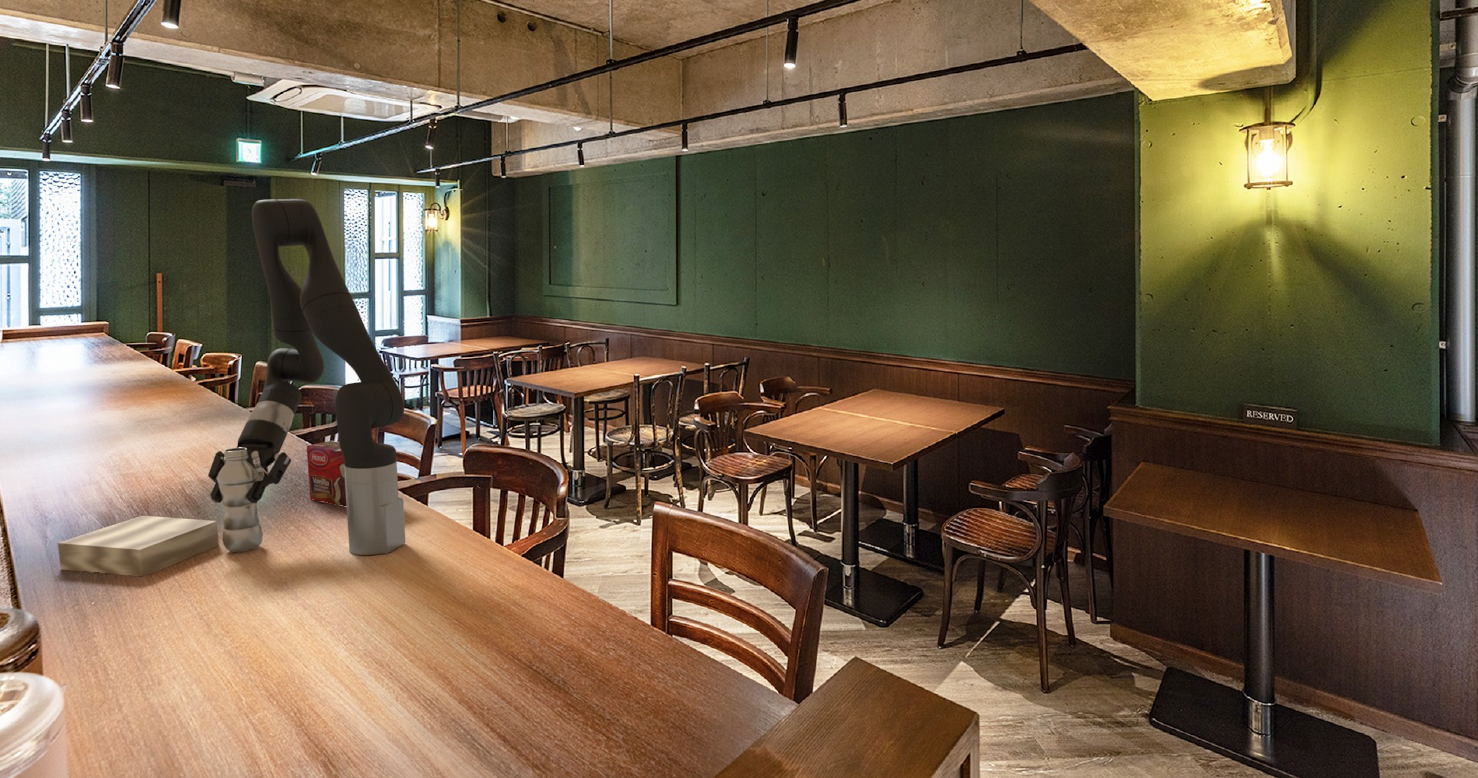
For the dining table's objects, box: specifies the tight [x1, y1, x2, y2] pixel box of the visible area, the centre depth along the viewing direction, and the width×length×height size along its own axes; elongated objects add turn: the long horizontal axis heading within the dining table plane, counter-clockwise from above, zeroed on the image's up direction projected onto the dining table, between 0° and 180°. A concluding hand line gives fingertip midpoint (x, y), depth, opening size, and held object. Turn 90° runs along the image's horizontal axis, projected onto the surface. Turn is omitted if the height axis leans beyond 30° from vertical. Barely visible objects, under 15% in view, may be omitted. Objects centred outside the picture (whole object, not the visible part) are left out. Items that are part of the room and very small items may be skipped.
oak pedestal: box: [57, 515, 220, 578], centre depth 139 cm, size 17×16×5 cm
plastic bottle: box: [217, 447, 264, 552], centre depth 142 cm, size 6×7×20 cm
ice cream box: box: [306, 440, 347, 506], centre depth 174 cm, size 20×6×13 cm, turn 65°
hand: (233, 500), depth 141 cm, fingers closed on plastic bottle, 6 cm apart
